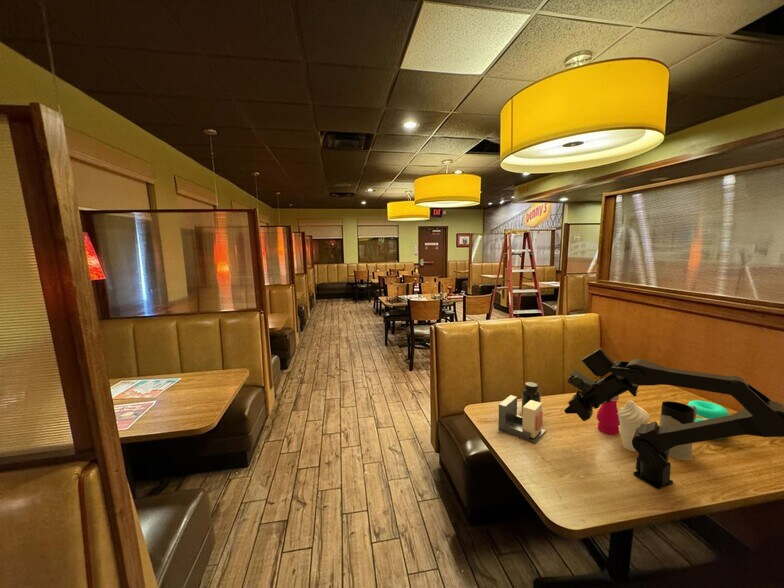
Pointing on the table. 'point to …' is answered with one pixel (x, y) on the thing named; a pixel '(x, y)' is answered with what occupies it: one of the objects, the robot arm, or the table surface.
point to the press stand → (514, 421)
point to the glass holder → (677, 416)
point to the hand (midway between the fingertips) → (565, 411)
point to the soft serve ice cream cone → (631, 422)
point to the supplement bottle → (530, 393)
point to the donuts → (708, 410)
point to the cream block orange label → (532, 418)
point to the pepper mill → (609, 417)
